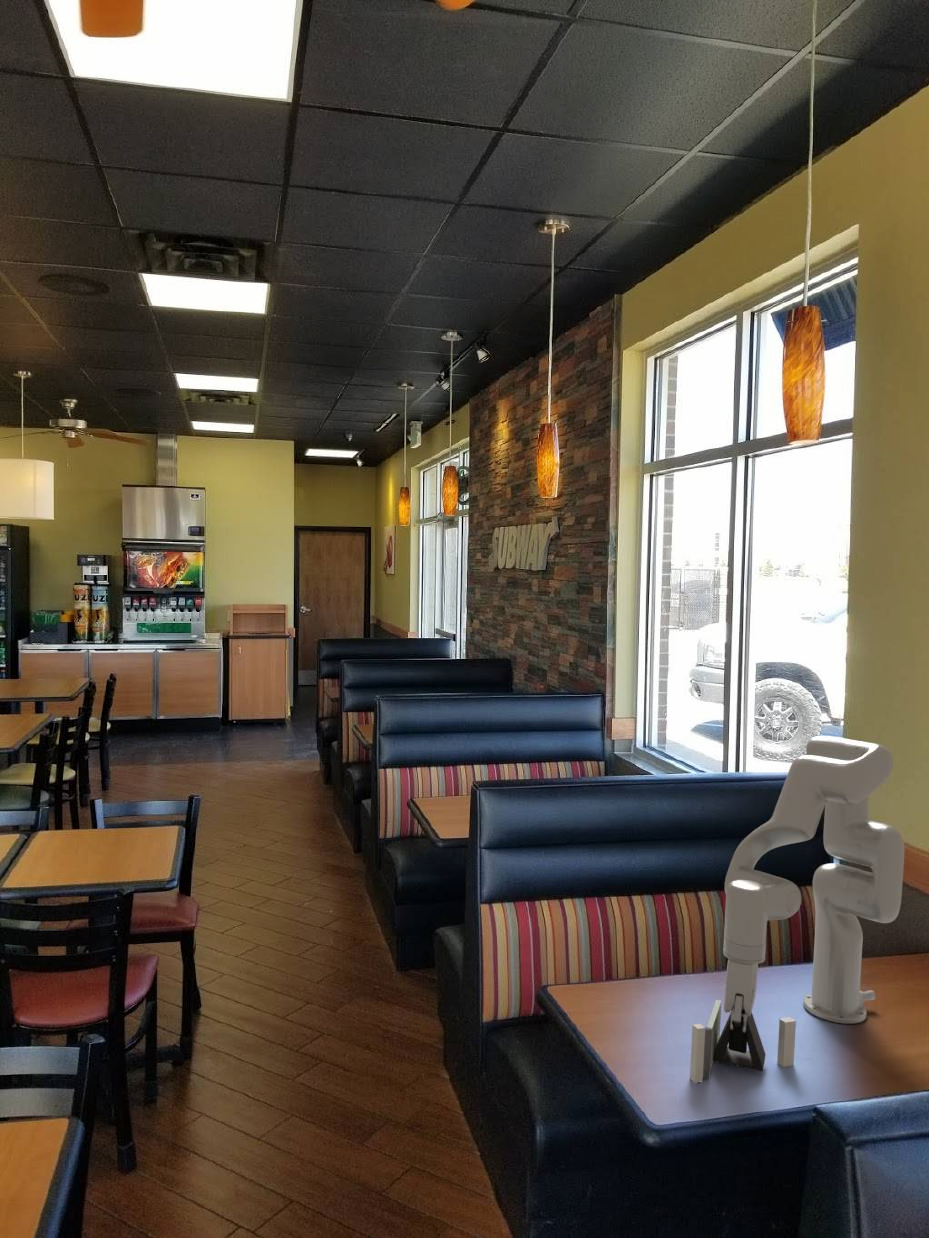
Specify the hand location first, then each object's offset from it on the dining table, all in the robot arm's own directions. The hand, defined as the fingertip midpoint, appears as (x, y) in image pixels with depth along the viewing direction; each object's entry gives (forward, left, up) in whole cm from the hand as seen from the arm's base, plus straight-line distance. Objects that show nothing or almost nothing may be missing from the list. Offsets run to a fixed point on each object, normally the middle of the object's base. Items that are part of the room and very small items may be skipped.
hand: (739, 1041), depth 168 cm
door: (+4, -3, -4) cm, 6 cm away
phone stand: (0, 0, -3) cm, 3 cm away
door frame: (+1, +2, -4) cm, 5 cm away
